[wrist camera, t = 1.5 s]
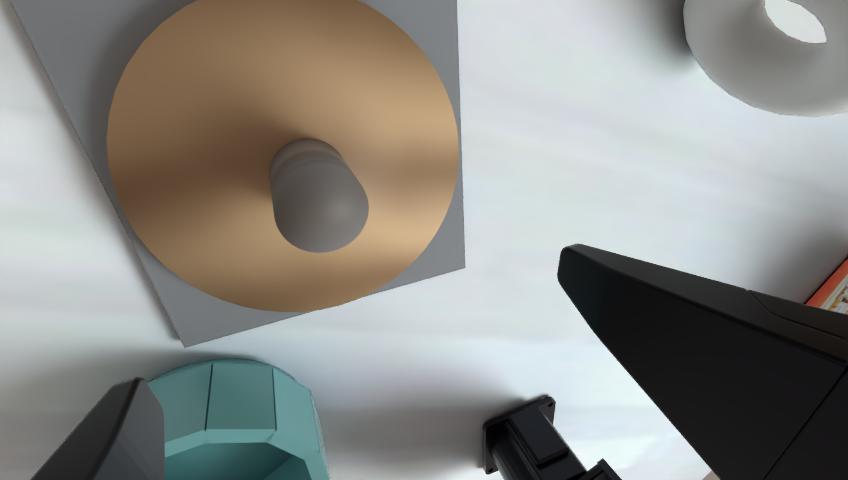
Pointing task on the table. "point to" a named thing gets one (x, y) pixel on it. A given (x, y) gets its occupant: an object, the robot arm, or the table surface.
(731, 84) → the donut
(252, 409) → the bowl
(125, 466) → the robot arm
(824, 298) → the cracker box
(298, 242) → the lid
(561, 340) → the table surface
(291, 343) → the table surface
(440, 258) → the mat
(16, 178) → the table surface
